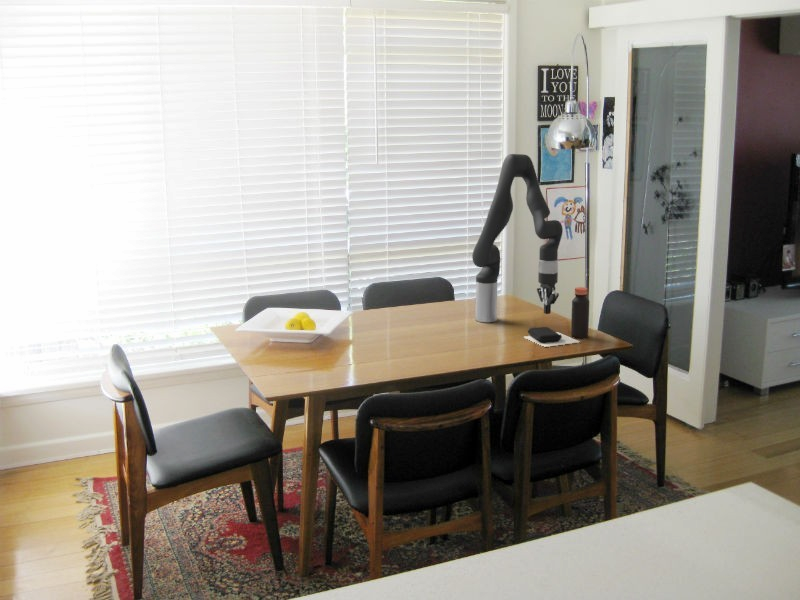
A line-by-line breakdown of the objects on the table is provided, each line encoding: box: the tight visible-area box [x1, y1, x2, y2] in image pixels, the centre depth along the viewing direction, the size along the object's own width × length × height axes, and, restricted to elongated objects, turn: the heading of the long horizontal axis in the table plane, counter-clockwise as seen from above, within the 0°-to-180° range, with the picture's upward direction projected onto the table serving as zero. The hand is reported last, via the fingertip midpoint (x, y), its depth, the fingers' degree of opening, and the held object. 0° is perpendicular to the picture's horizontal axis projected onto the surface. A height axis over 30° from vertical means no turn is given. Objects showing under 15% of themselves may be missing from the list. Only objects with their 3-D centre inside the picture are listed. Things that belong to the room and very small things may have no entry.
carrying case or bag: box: [527, 326, 562, 343], centre depth 337 cm, size 11×3×15 cm
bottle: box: [570, 286, 590, 340], centre depth 338 cm, size 7×7×20 cm
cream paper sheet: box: [523, 331, 581, 348], centre depth 336 cm, size 16×16×1 cm
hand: (547, 313), depth 337 cm, fingers closed
